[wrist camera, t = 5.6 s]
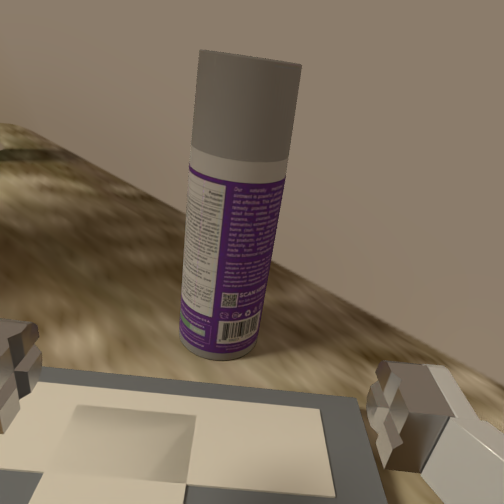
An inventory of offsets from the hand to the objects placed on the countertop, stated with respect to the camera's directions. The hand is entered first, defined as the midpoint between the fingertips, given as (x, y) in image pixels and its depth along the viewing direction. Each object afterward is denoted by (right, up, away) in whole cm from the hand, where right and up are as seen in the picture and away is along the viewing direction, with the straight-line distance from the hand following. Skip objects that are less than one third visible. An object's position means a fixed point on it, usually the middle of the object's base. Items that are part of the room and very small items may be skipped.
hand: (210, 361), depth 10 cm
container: (-1, -2, +14) cm, 15 cm away
